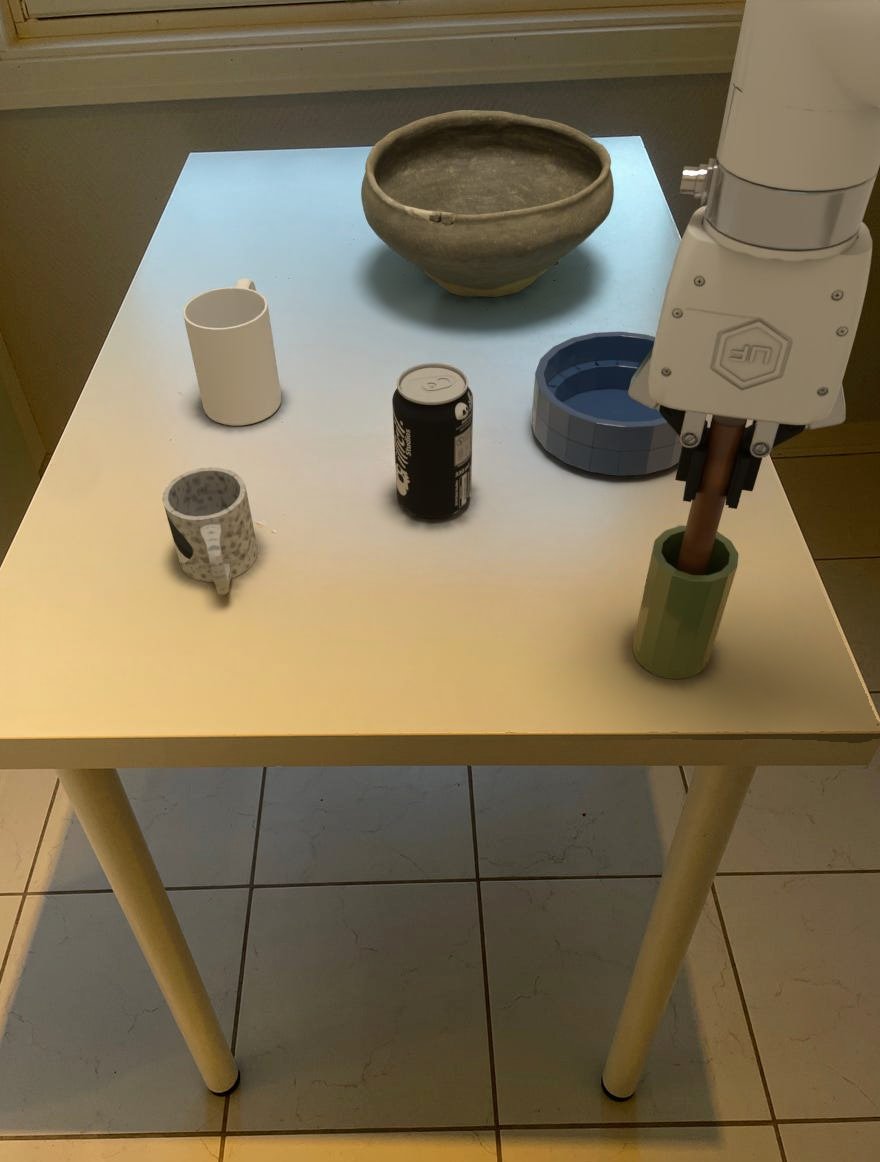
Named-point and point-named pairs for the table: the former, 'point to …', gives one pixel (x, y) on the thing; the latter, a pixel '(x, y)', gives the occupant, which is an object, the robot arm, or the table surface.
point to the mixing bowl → (600, 407)
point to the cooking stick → (710, 494)
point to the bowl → (486, 197)
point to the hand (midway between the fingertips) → (711, 490)
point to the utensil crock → (682, 607)
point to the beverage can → (433, 439)
